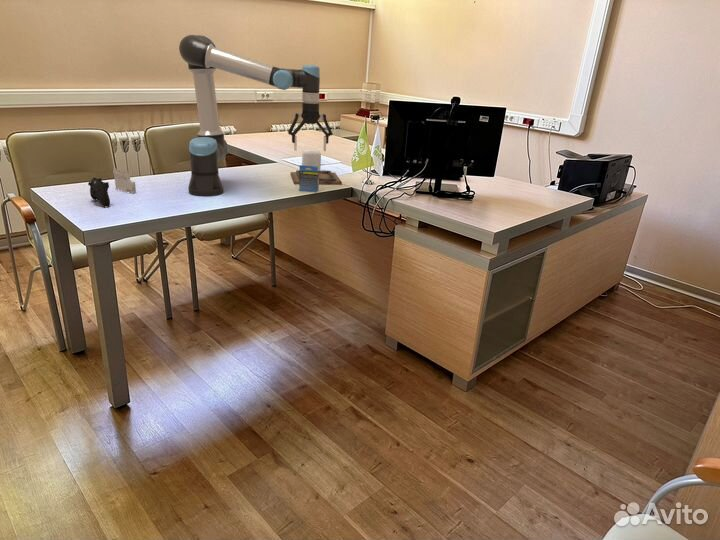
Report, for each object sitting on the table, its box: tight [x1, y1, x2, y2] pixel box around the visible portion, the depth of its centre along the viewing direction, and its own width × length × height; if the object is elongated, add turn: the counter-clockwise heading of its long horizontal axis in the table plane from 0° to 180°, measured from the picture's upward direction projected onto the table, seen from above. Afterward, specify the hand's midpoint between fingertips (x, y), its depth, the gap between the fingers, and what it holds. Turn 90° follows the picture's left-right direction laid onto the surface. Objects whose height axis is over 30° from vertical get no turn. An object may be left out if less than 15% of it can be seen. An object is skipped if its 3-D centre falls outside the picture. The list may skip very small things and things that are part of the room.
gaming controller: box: [87, 177, 111, 207], centre depth 202 cm, size 14×6×10 cm, turn 45°
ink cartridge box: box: [112, 167, 137, 194], centre depth 221 cm, size 2×11×10 cm, turn 60°
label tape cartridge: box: [298, 164, 320, 193], centre depth 239 cm, size 9×4×12 cm, turn 84°
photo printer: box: [301, 148, 322, 171], centre depth 276 cm, size 10×4×12 cm, turn 103°
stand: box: [290, 169, 343, 186], centre depth 262 cm, size 24×21×3 cm
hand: (310, 150), depth 234 cm, fingers open, 13 cm apart
